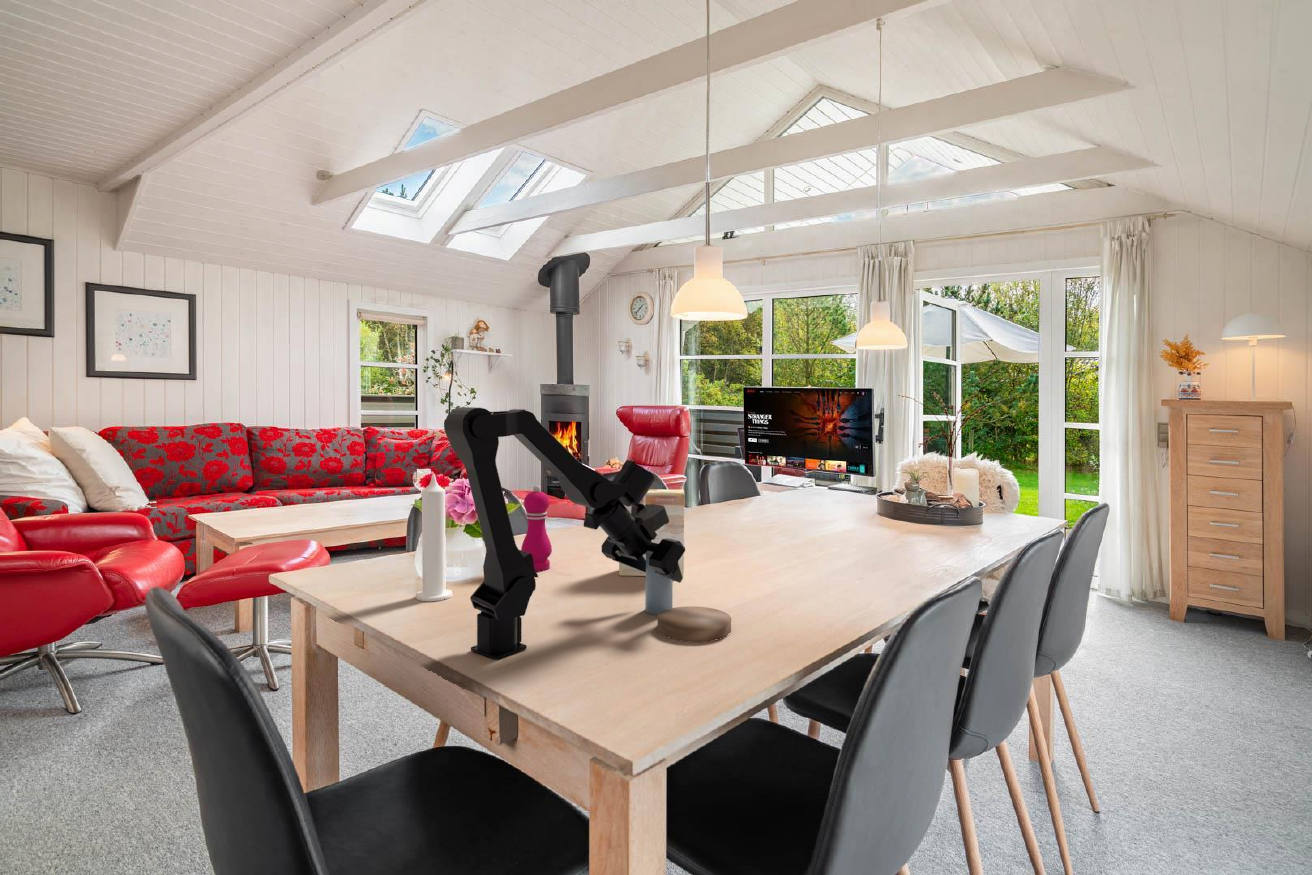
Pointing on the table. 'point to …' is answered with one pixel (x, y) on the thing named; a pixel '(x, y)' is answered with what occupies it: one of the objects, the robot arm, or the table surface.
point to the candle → (433, 544)
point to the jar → (657, 591)
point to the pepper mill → (537, 529)
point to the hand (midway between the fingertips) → (664, 575)
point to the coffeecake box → (671, 530)
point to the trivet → (694, 623)
